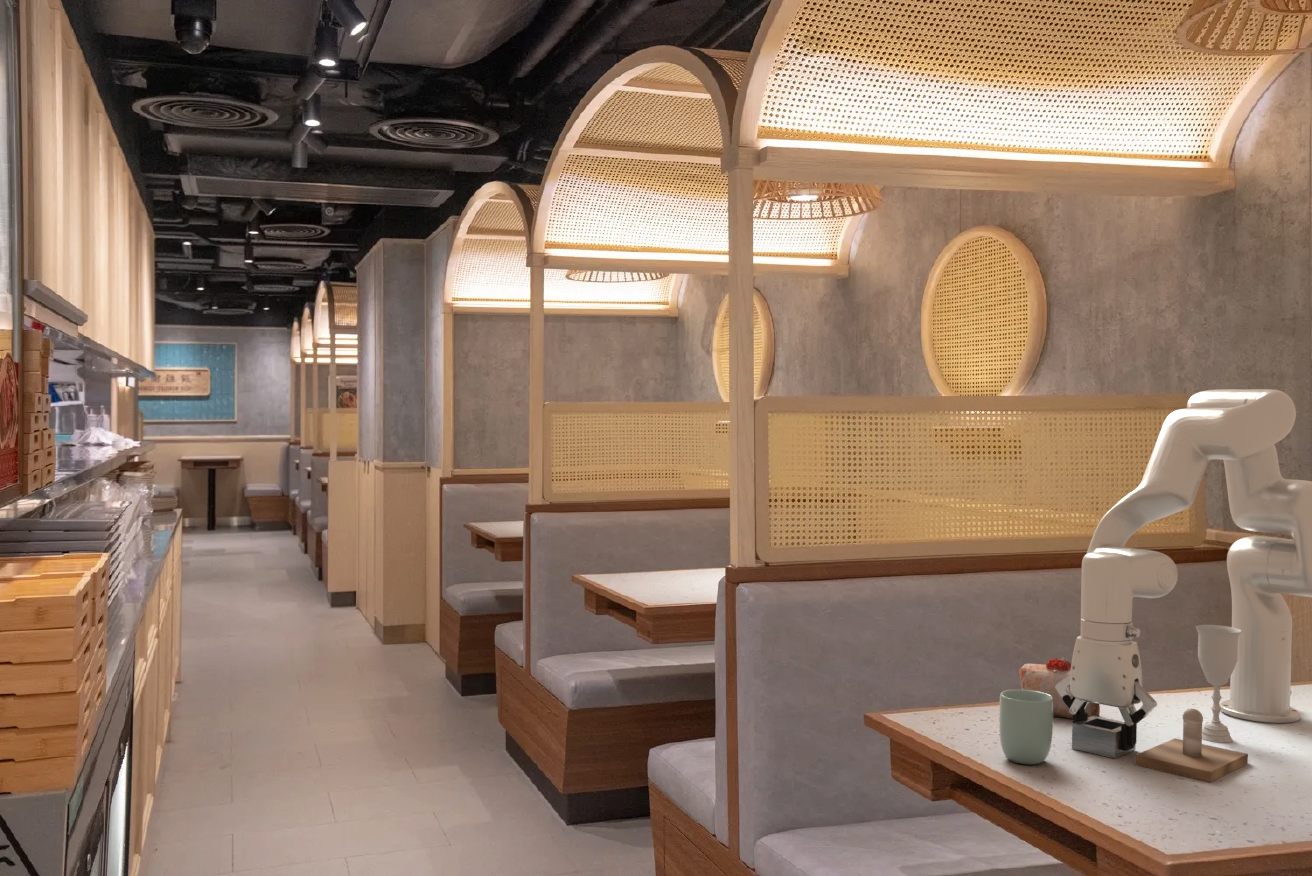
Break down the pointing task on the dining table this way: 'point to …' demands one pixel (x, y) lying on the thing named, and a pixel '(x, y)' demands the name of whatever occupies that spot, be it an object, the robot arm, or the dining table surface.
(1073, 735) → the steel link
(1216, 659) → the chalice
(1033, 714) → the cup
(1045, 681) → the food item
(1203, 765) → the brown flat pegged piece
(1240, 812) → the dining table surface
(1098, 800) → the dining table surface
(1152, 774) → the dining table surface
